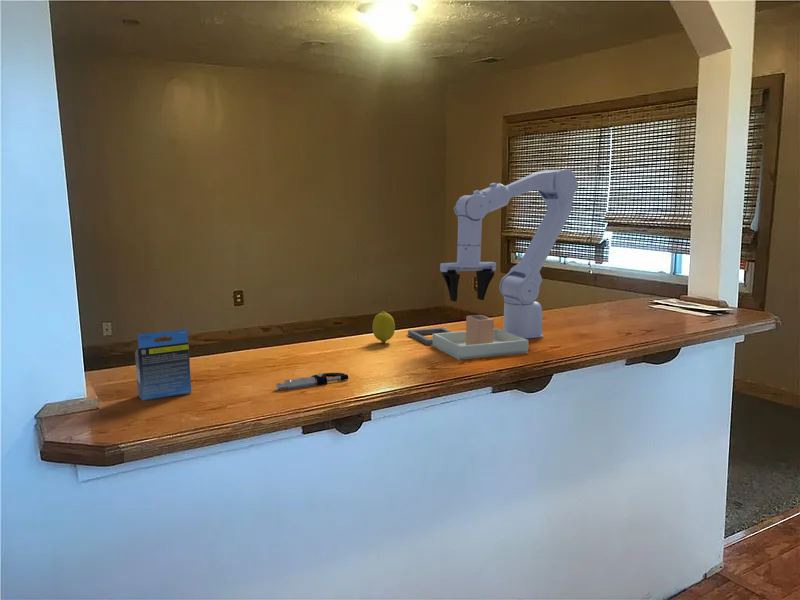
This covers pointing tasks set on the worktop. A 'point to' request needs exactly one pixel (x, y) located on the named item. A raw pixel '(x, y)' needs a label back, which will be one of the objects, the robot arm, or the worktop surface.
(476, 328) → the block
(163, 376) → the label tape cartridge
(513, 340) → the parts tray
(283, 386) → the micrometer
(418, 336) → the frame
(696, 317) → the worktop surface
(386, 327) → the lemon
